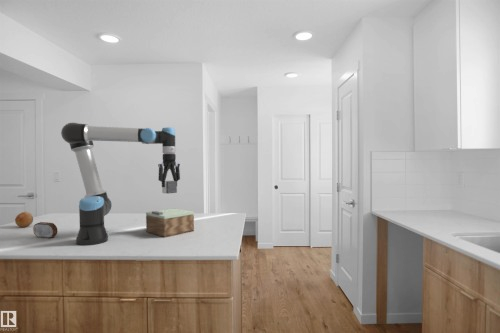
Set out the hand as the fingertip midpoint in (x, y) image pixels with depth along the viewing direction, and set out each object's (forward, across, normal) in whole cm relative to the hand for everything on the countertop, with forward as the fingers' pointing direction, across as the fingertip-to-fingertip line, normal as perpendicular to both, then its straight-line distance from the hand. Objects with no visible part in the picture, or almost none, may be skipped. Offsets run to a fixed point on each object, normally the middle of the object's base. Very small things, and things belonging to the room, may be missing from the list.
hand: (169, 192), depth 186 cm
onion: (+24, -55, +87) cm, 106 cm away
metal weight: (0, 0, 0) cm, 0 cm away
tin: (+24, -54, +43) cm, 73 cm away
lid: (+13, 0, 0) cm, 13 cm away
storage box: (+24, 0, 0) cm, 24 cm away
